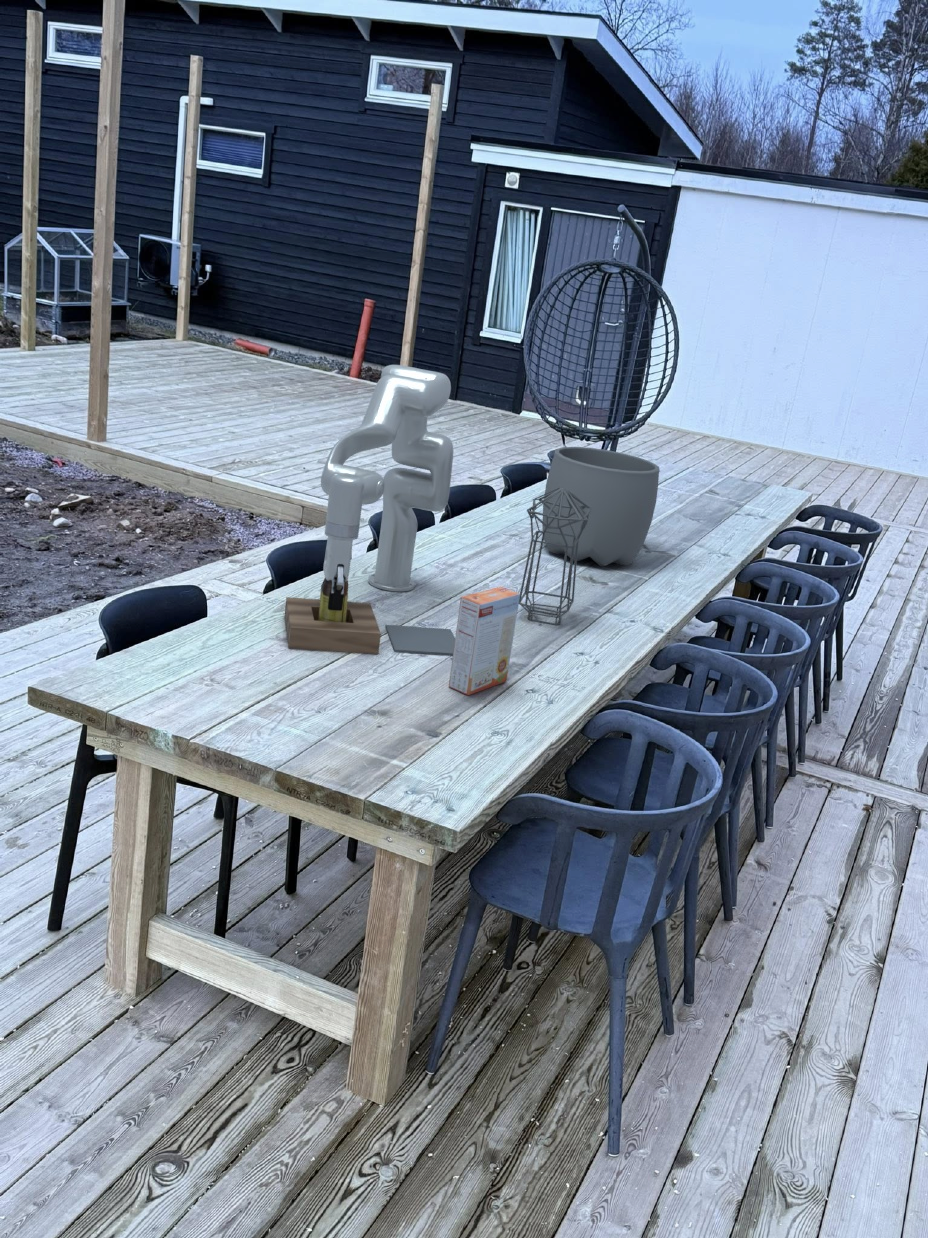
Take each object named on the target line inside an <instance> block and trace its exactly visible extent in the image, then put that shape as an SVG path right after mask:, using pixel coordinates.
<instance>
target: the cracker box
mask: <svg viewBox="0 0 928 1238" xmlns="http://www.w3.org/2000/svg"><path fill="white" fill-rule="evenodd" d="M519 598H520V592H519V593H518V592H515V591H513V590H510V589H508V588H506V587H503V586H498V587H494V588H490V589H486V590H482V591H479V592H475V593H472V594H471V593H470V594H467V595H463V596H461V597H460V600H459V601H460V603H459V609H458V617H457V624H456V631H455V636H454V637H455V644H454V651H453V656H452V659H451V666H450V667H451V668H450V672H449V673H450V674H449V675H450V676H449V680H448V688H451V689H453V690H455V691H457V692H460V693H462V694H464V695H466V696H470V695H474V694H476V693H478V692H482V691H484V690H487V689H489V688H492V687H495V686H498V685H501V684H503V683H505V682H507V681H508V673H509V667H510V659H511V655H512V654H511V653H512V648H513V642H514V636H515V635H514V634H515V628H516V622H517V616H518V610H519V605H520V604H519Z"/></svg>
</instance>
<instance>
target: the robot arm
mask: <svg viewBox="0 0 928 1238" xmlns="http://www.w3.org/2000/svg"><path fill="white" fill-rule="evenodd" d="M451 385H452V384H451V381H450V378H449V377H448V376H447V375H446V374H445V373H442V372H438V371H433V370H427V369H421V368H417V367H412V366H407V365H401V364H389V365H386V366H385V367H384V368H383V369H382V371H381V374H380V379H378V381H377V383H376V385H375V387H374V389H373V393H372V396H371V398H370V400H369V403H368V405H367V408H366V411H365V414H364V416H363V420H362V421H361V424H360V425H359V426H358V427H356V428H355V429H353V430H350V432H347V433H346V434H345V435H344V436H343V437H341V438H340V439H339V440H338V441H337V442H335V444H334V445H333V447H332V448H331V449H330V452H329V454H328V456H327V459H326V462H325V464H324V467H323V470H322V474H321V477H320V478H321V479H320V487H321V489H322V491H323V492H324V493H325V494H326V495H327V496H328V500H327V501H328V502H327V508H326V517H325V518H326V519H325V529H324V535H325V536H326V537H327V541H326V548H325V555H324V560H323V561H324V562H323V568H322V569H323V573H324V578H326V580H327V581H329V580H332V583H331V592H330V593H329V602H328V609H329V610H336V611H341V610H342V607H343V598H344V582H346V581H348V582H349V575H350V568H351V559H352V552H353V551H352V550H353V542H354V540H355V541H356V540H357V539H359V533H360V526H361V525H360V524H361V517H362V516H361V515H362V508H363V506H365V505H371V504H372V505H373V504H374V503H376V502H378V501H379V500H380V499H381V498H382V514H381V522H380V523H381V524H380V533H379V537H378V538H379V539H378V540H379V541H378V548H377V555H376V562H375V565H376V566H375V570H374V573H373V574H371V575H369V576H368V579H367V581H368V583H369V584H370V585H371V586H373V587H374V588H377V589H380V590H385V591H390V592H398V593H399V592H401V593H402V592H408V591H409V592H410V591H412V590H414V589H415V587H416V582H415V580H414V579H412V578H411V576H412V567H413V562H414V561H413V559H414V554H415V553H414V552H415V544H416V539H417V531H418V520H417V517H416V514H415V512H414V510H413V509H420V510H423V511H429V512H434V513H439V512H442V511H443V510H445V508H446V506H447V505H448V502H449V498H450V491H451V480H452V472H453V471H452V470H453V463H454V462H453V461H454V445H453V441H452V439H451V438H449V436H447V435H444V434H442V433H441V434H440V433H437V432H431V431H428V429H427V428H428V427H427V425H428V417H431V416H433V415H434V414H435V413H436V412H438V411H440V410H441V409H442V408H444V406H446V404H447V402H448V400H449V399H450V395H451V390H452V386H451ZM389 445H391V457H392V459H393V461H394V462H396V463H397V464H399V465H401V466H407V467H411V468H416V469H411V468H405V467H393V468H390V469H388V470H387V471H386V472H385V474H384V476H382V475H381V474H380V473H379V472H376V471H374V470H369V469H364V468H360V467H355V466H351V465H345V464H344V463H346V461H347V460H348V459H350V458H351V457H352V456H354V455H356V454H359V453H361V452H365V451H370V450H375V449H379V448H383V447H386V446H389ZM417 469H422V470H427V471H429V472H425V471H421V470H417ZM334 577H335V578H337V580H334ZM334 583H337V585H335V586H334Z"/></svg>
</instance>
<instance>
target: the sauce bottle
mask: <svg viewBox="0 0 928 1238" xmlns="http://www.w3.org/2000/svg"><path fill="white" fill-rule="evenodd" d="M334 580H337V578H335V577H334ZM331 583H332V580H329V581H327V580H326V578H325V577H324V579H323V581H322V583H321V586H320V596H319V597H320V598H319V600H320V606H319V618H318V621H330V622H344V623H345V622H346V611H347V602H348V599H349V580H348V581H346V582H344V598H343V607H342V610H341V611H336V610H329V609H328V602H329V593H330V592H331ZM335 585H337V583H334V586H335Z"/></svg>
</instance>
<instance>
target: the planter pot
mask: <svg viewBox="0 0 928 1238" xmlns="http://www.w3.org/2000/svg"><path fill="white" fill-rule="evenodd" d="M660 472H661V471H660V466H659V465H657V464H655V463H654V462H653V461H650V460H647V459H644V458H642V457H639V456H635V455H631V454H627V453H623V452H618V451H613V450H608V449H602V448H593V447H583V446H563V447H558V448H555V450H554V454H553V457H552V461H551V464H550V467H549V472H548V475H547V479H546V484H545V490H544V491H545V492H544V494H546V493H548V492H550V491H552V490H555V489H557V488H565V489H567V490H568V491H569V492H571V493H572V494H573V495H575V496H576V497H577V498H579V499H580V500H581V501H583V502H584V503H585V504H587V505H588V506H589V507H591V508H592V509H591V511H590V513H589V517H588V521H587V525H585V528H584V529H583V531H582V534H581V536H580V538H579V541H578V552H577V562H579V561H582V560H585V559H587V558H590V559H592V561H593V562H595V563H596V564H597V565H599V567H606V566H608V565H609V564H611V563H614V564H618V565H620V566H630V565H632V564H633V562H634V560H635V559H636V557H637V556H638V554H639V553H640V551H641V550H642V548H643V546H644V545H645V542H646V538H647V536H648V533H649V531H650V528H651V525H652V522H653V518H654V512H655V510H656V509H655V508H656V504H657V498H658V492H659V491H658V490H659V489H658V488H659V478H660V477H659V475H660ZM559 493H560V492H558V493H557V494H556V495H554V496H553V497H552V498H550V499H549V500H548V501H549V502H553V503H554V502H555V500H556V498H557V496H558V495H559ZM544 494H543V495H544ZM546 495H547V494H546ZM544 496H545V495H544ZM560 498H561V495H560V497H559V499H558V501H557V503H556V504H559V503H560ZM575 501H576V502H577V503H578V504H579V505H583V504H581V503H580V502H579V501H577V500H576V499H575ZM546 504H547V505H548V506H549V507H550V508H551V507H552V506H553V505H552V504H549V503H546ZM562 505H564V506H569V504H568V501H567V498H566V496H565V495H563V501H562ZM581 508H582V507H581ZM588 509H589V508H587V507H586V508H584V509H583V510H584V511H585V512H586V514H587V511H588ZM553 510H554V511H555V512H556V513H558V510H559V506H556V505H555V506H554V508H553ZM569 510H570V508H564V507H562V509H561V515H564V516H568V513H569ZM549 511H550V509H548V508H547V507H546V506H545V505H544V504H543V505H542V513H543V514H547V515H548V513H549ZM573 512H575V511H574V510H573V508H571V511H570V514H572V513H573ZM578 513H579V512H578ZM579 514H580V513H579ZM555 515H556V514H554V513H553V512H551V514H550V516H555ZM580 516H581V515H580ZM556 517H558V516H556ZM560 518H563V517H560ZM569 518H576V519H579V518H578V516H577V515H576V514H574V515H572V516H570V517H569ZM581 518H582V516H581ZM552 519H553V518H548V524H549V523H550V521H551V520H552ZM582 519H583V518H582ZM542 521H543V522H544V523H545V524H546V525H547V517H546V516H542ZM569 521H570V522H573V520H569ZM569 521H568V520H559V526H561V525H564V524H567V523H569ZM582 523H583V521H582V520H581V521H579V522H576V523H573V524H571V526H572V528H573V531H574V533H575V536H576V537H577V535H578V533H579V531H580V529H581V526H582ZM550 526H554V527H558V519H554V520H553V522H552V523H551V524H550ZM571 526H570V525H568V526H565V527H562V528H561V530H562V532H563V534H568V535H574V534H573V531H572V529H571ZM545 528H546V527H545V526H544V525H543V524H542V531H544V529H545ZM546 531H549V532H555V533H560V530H559V529H551V528H547V530H546ZM564 537H565V539H566V542H567V544H568V546H572V545H573V539H574V537H571V536H565V535H564ZM543 542H548V543H554V544H560V545H565V546H566V544H565V542H564V539H563V537H562V535H559V534H552V533H546V532H545V535H544V540H543ZM575 543H576V542H575ZM545 545H546V549H547V550H548V551H549V552H550V553H553V554H558V555H559V554H562V555H565V549H566V547H563V546H557V545H551V544H545ZM575 551H576V546H575V547H574V554H573V562H575ZM571 553H572V548H568V549H567V557H569V559H571Z"/></svg>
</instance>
